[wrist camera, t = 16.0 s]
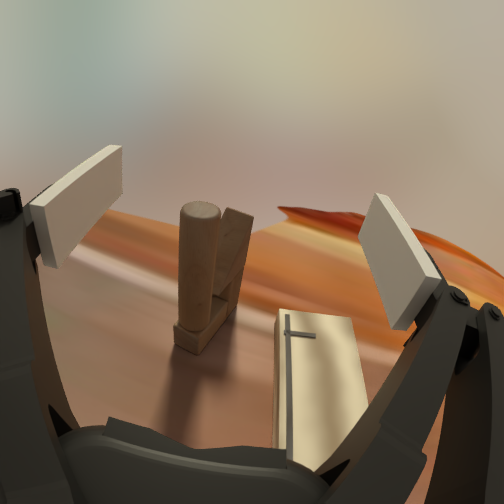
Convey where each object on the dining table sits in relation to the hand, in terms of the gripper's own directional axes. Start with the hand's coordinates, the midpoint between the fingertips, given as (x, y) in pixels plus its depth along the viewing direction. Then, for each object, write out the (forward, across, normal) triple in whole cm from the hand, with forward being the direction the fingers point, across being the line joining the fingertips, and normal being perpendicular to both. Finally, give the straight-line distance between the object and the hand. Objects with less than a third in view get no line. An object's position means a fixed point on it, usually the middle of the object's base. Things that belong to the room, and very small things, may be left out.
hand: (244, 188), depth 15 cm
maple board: (-1, +12, -24) cm, 27 cm away
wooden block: (+12, -2, -25) cm, 28 cm away
